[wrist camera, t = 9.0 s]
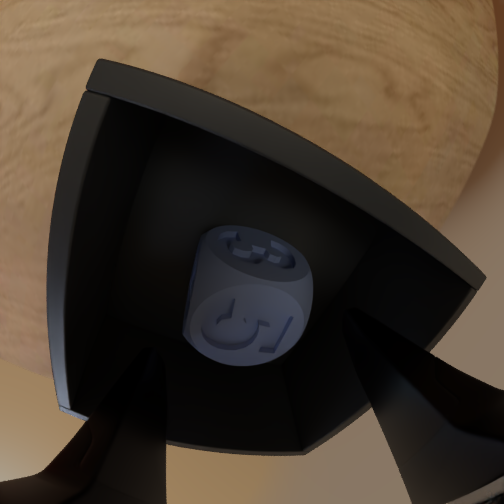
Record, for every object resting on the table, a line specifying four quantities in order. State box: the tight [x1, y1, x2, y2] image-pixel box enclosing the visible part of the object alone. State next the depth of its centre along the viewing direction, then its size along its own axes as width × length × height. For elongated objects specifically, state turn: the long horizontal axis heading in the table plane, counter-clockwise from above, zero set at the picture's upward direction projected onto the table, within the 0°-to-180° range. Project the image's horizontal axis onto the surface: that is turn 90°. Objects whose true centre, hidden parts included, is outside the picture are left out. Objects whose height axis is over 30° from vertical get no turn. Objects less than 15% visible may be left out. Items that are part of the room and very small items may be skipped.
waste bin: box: [47, 59, 486, 456], centre depth 10 cm, size 12×12×7 cm
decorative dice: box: [182, 225, 313, 366], centre depth 11 cm, size 4×4×4 cm
